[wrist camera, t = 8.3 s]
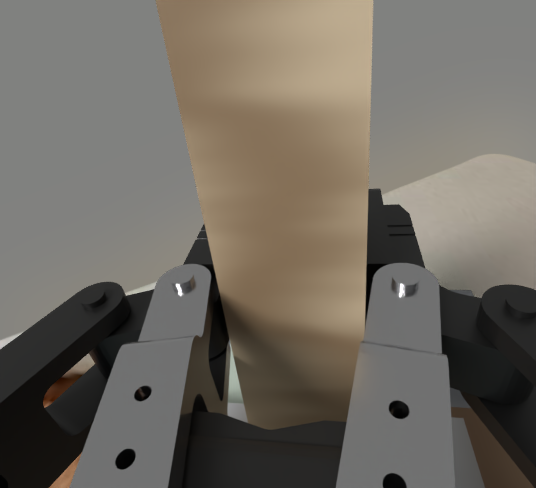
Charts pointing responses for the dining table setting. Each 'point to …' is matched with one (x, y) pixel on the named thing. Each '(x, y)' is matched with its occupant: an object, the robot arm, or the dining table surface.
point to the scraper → (285, 194)
